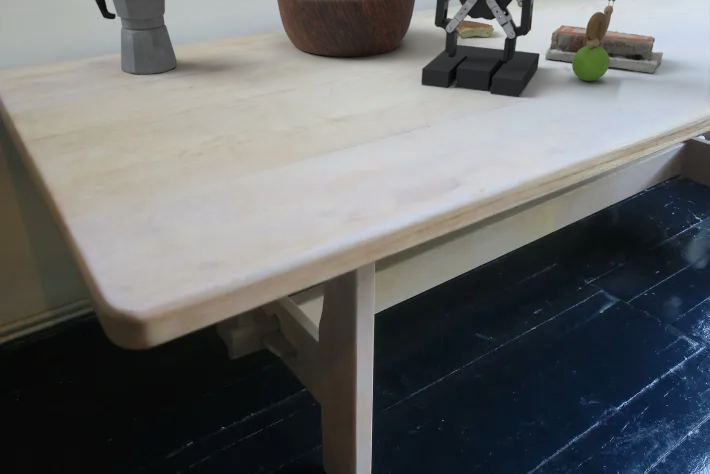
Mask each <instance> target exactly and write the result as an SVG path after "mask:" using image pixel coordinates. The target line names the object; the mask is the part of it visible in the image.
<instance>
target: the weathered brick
mask: <svg viewBox="0 0 710 474" xmlns="http://www.w3.org/2000/svg"><path fill="white" fill-rule="evenodd" d="M586 28H587V27H582V26H581V27H580V26H575V25H574V26H572V25H563V24H562V25H560V27H557V28H556V30H554V31H553V32H552V33H551V37H550V39H551V42H550V46H549V48H548V49H546V50H545V54H544V57H545V59H547V60H553V61H560V60H561V61H560V62H567V63H572V62H573V58H574V56H575V54H576V53H577V52H578V51H579V50H580V49H581V48H583V47H585V46H587V44H586V42H587V41H588V39H587V37H586ZM654 43H655V37H653V36H651V35H642V34H635V33H626V32H620V31H613V30H607V32H606V35H605V37H604V39H603V40H602V42H601V43H600V44H599V45H598V46H600V47H602V48H603V49H604V50H605V51H606V52H607V54H608V56H609V67H608V68H616V69H617V68H618V69H624V70H631V71H636V72H642V73H649V74H650V73H651V74H653V73H654V72H655V71H656V69H657V67H658V66H659V65H660V63H661V61H662V59H663V56H664V52H663V51H657V52H654V51H653V49H654Z"/></svg>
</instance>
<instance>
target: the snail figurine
mask: <svg viewBox="0 0 710 474" xmlns="http://www.w3.org/2000/svg"><path fill="white" fill-rule="evenodd" d="M607 1H608V5H606V6H605V7H604V9H603V12H601V11H597V12H595V13H593V14H592V16H590V18H589V20H588V22H587V24H586V27H585V28H586V37H587V39H588V41H587V42H586V44H587V46H585V47H583V48H581V49H580V50H579V51H578V52H577V53H576V54H575V56H574V58H573V62H571V66H572V71H573V73H574V74H575V76H576V77H577V78H578V79H580V80H583V81H585V82H593V81H597V80H599V79H600V78H602V77H603V76H604V75H605V74H606V73H607V71H608V69H609V68H610V67H609V56H608V54H607V52H606V51H605V50H604V49H603V48H602V47H600V46H598V45H599V44H600V43H601V42H602V40H603V39H604V37H605V35H606V32H607V31H609V30H608V29H609V26H610V23H611V18H612V14H613V12H614V3H615V2H616V0H607ZM611 1H612V5H610V2H611Z"/></svg>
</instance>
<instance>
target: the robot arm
mask: <svg viewBox="0 0 710 474" xmlns="http://www.w3.org/2000/svg"><path fill="white" fill-rule="evenodd" d="M458 1H459V3H460V4H461V7H460V8H459V9H458V11H457V12H456V14H455V15H454V16H453V18H451V19H452V20H449V19H447V18H448V13H449V4H450V3H449V2H451V0H436V5H435V14H434V15H435V16H434V26H435V27H436V28H440V29H443V30H444V31H445V44H444V45H445V46H444V50H445V51H446V53H449V54H448V56H449V57H454V56H455V55H456V52H457V45H458V38H459V33H458V30H457V27H458V26H459V25H460V23H461V22H462V21H463V20H465V19H466V18H467V17H470V19H473V20H475V19H476V20H478V19H484V20H487V21H493V20H496V21H497V23H498V25H499V26H500V27H501V28H502V30H503V31H504V34H505V35H506V37H505V38H504V43H503V45H504V46H503V50H504V52H503V61H502V63H506V64H507V63H508V62H509V60H512V58H513V57H514V55H515V51H516V47H517V39H518V37H522V36H523V37H524V36H527V35H528V34H529V32H531V30H532V24H533V12H534V0H516V2H517V6H518V8H521V14H520V22H519V24H520V25H516V23H515V21H514V19H513V15H512V14H511V11H510V10H509V8H508V6H509V5H510V4H511V3H512V2H513V0H458Z"/></svg>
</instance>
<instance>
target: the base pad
mask: <svg viewBox="0 0 710 474" xmlns="http://www.w3.org/2000/svg"><path fill="white" fill-rule="evenodd" d="M503 52H504V49H503V48H502V49H501V48H490V47H482V46H473V45H472V46H471V45H462V44H457V52H456V55H455V56H454V57H449V56H448V54H449V53H446V51H445V49H444V50H442V51H441V52H440V53H439V54H438V55H436V57H435V58H433V59H432V60H430V62H428V63H427V64H426V65H425V66H423V67H422V69H421V85H422V86H431V87H439V88H446V89H448V88H449V87H450V86H451V85H452V84H453V83H454V82H456V75H457V67H458V66H459V65H460V64H461V63H462V62H463V61H464V60H465V59H466V58H467V57H468V56H469V55H477V56H487V57H497V58H501V61H500V69H499V70H498V71H497V72H496V74H495V75H494V76H493V77H492V86H491V87H490V94H494V95H502V96H509V97H517V98H520V96H521V94H522V93H523V92H524V90H525V89H526V87H527V85H528V83H530V80H531V79H532V78H533V76H534V75H535V73H536V71H537V70H538V68H539V61H540V56H541V55H540V53H539V52H530V51H521V50H515V55H514V57H513V58H512V60H509V62H508V63H507V64H506V63H502V61H503Z"/></svg>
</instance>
